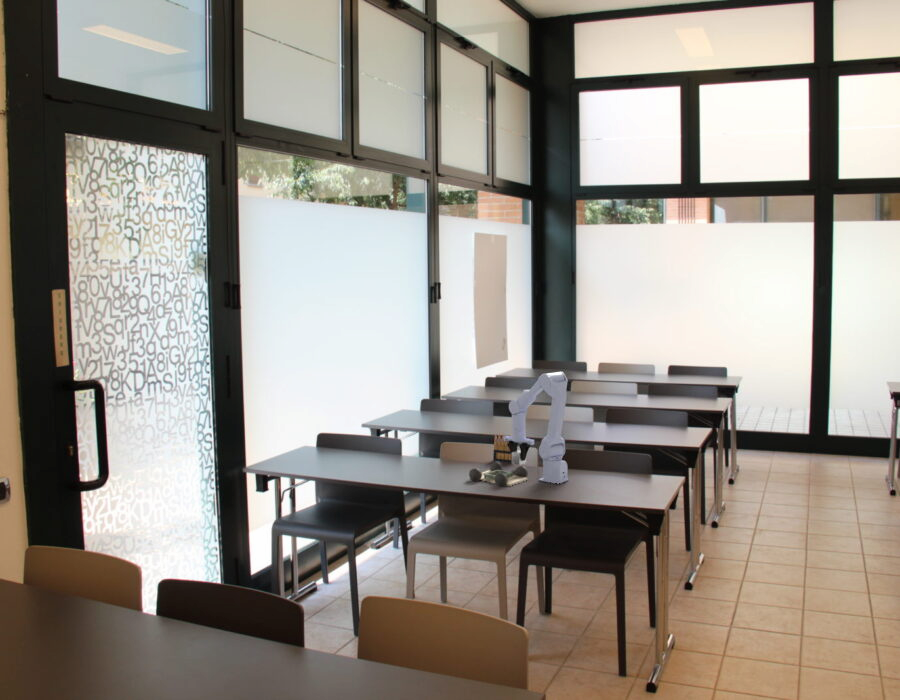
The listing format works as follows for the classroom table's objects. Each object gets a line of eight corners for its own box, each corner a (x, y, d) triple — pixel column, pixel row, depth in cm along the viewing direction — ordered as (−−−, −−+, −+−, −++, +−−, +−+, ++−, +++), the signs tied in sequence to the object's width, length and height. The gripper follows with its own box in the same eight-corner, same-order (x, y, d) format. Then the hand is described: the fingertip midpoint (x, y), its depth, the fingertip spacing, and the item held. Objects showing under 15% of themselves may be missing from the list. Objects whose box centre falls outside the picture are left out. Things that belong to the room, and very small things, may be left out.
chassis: (530, 479, 347) (530, 467, 346) (506, 487, 335) (506, 475, 334) (491, 471, 360) (490, 460, 359) (467, 479, 348) (467, 467, 347)
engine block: (526, 462, 362) (526, 451, 361) (519, 465, 358) (519, 453, 357) (518, 461, 364) (518, 450, 364) (511, 463, 360) (511, 452, 360)
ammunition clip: (516, 462, 376) (516, 435, 374) (515, 463, 374) (514, 436, 373) (495, 459, 381) (494, 433, 379) (493, 460, 379) (492, 434, 378)
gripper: (538, 428, 358) (538, 460, 359) (510, 424, 367) (510, 455, 369) (528, 431, 352) (528, 463, 354) (500, 427, 362) (500, 458, 363)
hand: (519, 459), depth 361 cm, fingers closed on engine block, 4 cm apart
